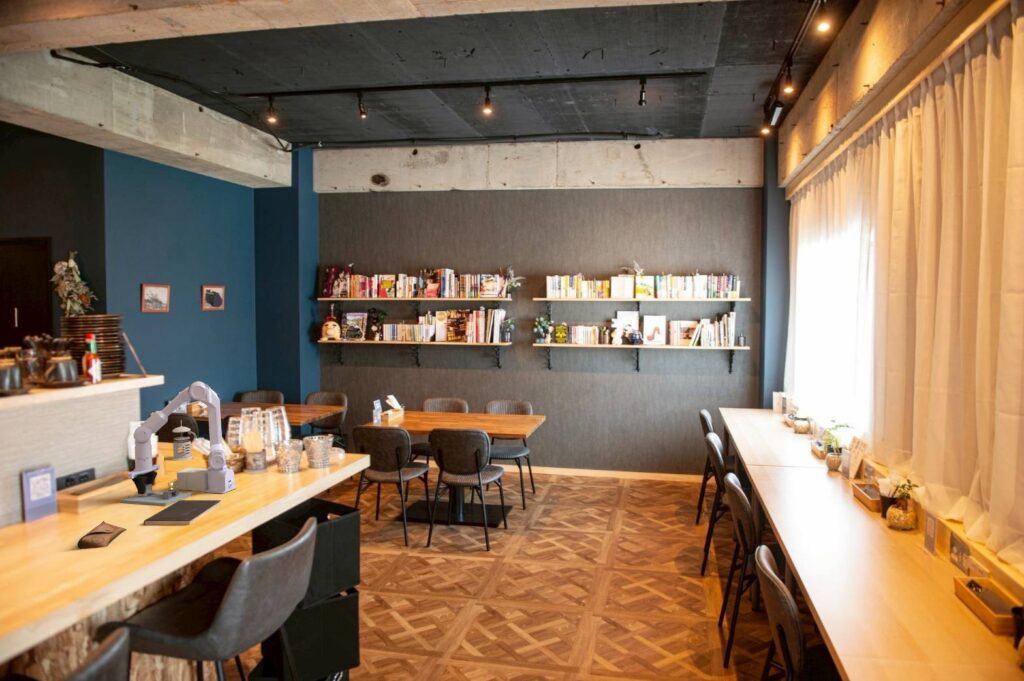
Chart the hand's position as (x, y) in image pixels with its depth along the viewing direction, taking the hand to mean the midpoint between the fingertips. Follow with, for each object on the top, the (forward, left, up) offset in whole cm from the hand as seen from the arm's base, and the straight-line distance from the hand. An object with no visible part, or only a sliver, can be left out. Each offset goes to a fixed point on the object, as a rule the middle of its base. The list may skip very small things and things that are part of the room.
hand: (144, 492), depth 266 cm
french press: (+32, -62, -2) cm, 70 cm away
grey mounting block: (-12, 0, -2) cm, 12 cm away
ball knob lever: (-11, -2, +2) cm, 11 cm away
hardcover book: (-29, +14, -3) cm, 32 cm away
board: (-5, 0, -2) cm, 6 cm away
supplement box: (-3, -16, +2) cm, 17 cm away
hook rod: (-5, 0, -1) cm, 5 cm away
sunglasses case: (-21, +42, -3) cm, 47 cm away
